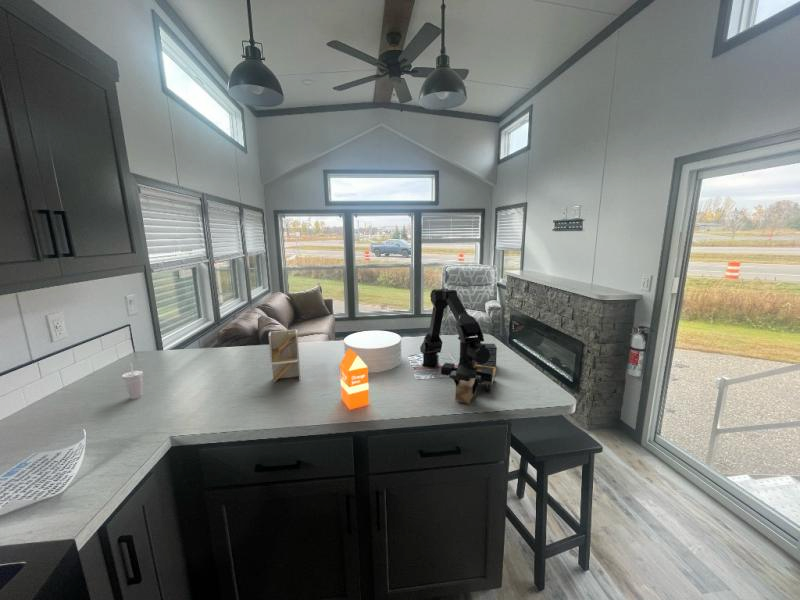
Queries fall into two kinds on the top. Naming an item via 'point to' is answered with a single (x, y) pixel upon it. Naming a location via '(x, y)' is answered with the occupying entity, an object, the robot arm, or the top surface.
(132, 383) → the smoothie
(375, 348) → the plate stack
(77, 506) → the top surface
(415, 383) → the top surface
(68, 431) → the top surface
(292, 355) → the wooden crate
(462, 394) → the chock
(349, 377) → the orange juice
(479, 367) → the wooden frame tray
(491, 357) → the small box
